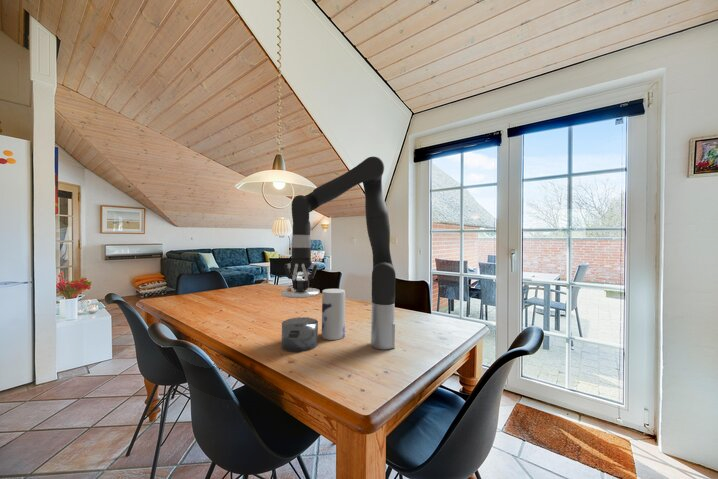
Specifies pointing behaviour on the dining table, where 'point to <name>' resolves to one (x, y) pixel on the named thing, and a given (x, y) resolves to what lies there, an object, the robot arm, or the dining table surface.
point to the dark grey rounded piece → (299, 334)
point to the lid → (300, 291)
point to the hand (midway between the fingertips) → (300, 289)
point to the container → (333, 314)
